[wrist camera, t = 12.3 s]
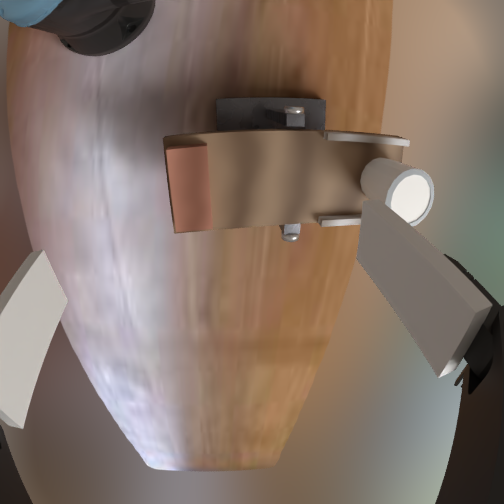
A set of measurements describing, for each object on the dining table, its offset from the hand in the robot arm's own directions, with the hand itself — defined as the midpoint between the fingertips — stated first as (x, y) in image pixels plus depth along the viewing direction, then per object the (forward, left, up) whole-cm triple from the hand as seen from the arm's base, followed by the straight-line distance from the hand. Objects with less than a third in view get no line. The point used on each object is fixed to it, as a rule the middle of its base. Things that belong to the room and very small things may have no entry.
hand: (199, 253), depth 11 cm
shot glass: (+4, +21, -21) cm, 30 cm away
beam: (+4, +10, -24) cm, 26 cm away
